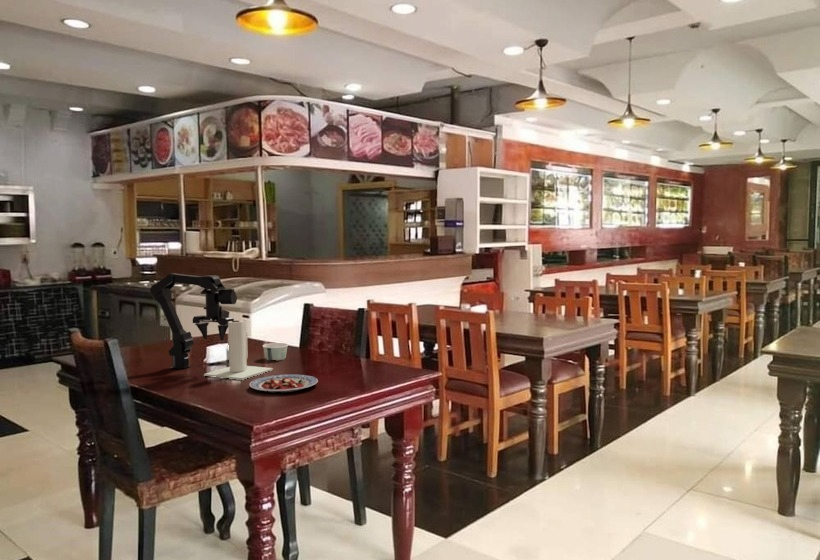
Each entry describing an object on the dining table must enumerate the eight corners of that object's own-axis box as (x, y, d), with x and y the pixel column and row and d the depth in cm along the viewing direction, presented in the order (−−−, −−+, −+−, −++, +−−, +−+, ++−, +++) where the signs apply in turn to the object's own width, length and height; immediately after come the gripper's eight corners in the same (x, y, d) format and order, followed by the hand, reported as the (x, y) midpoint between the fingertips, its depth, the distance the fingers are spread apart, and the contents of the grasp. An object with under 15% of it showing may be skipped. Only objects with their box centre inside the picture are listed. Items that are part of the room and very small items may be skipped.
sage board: (204, 376, 257) (203, 373, 257) (236, 366, 275) (236, 364, 275) (242, 380, 249) (242, 378, 249) (272, 370, 267) (272, 368, 267)
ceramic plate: (250, 398, 222) (250, 390, 222) (248, 382, 246) (248, 375, 246) (322, 392, 229) (322, 384, 229) (313, 377, 254) (313, 370, 253)
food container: (283, 361, 286) (283, 347, 286) (258, 361, 288) (258, 347, 288) (292, 356, 298) (291, 343, 298) (268, 356, 300) (268, 342, 299)
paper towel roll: (229, 373, 258) (228, 322, 257) (229, 370, 264) (227, 320, 262) (247, 371, 260) (246, 321, 259) (246, 368, 266) (245, 319, 264)
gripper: (241, 303, 273) (243, 338, 274) (209, 301, 280) (210, 335, 282) (224, 305, 263) (225, 342, 264) (191, 304, 270) (192, 339, 272)
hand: (213, 339), depth 270 cm, fingers open, 9 cm apart
